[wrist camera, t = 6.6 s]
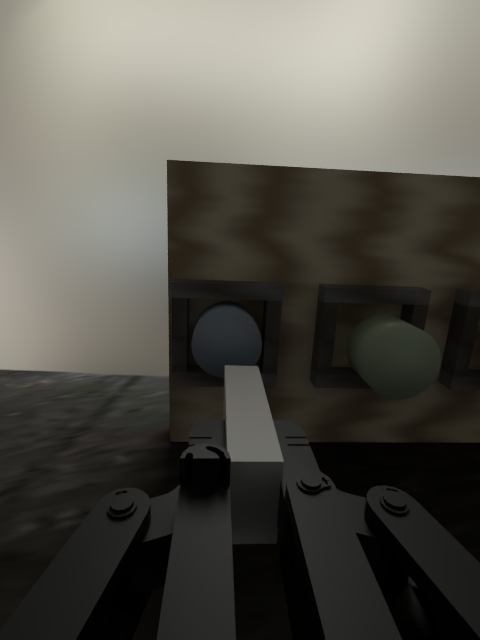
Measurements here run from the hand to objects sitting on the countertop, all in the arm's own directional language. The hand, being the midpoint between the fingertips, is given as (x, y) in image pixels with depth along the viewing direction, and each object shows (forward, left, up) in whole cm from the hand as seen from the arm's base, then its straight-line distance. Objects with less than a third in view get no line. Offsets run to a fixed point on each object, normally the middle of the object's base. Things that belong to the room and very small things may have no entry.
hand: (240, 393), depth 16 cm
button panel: (-13, -7, -9) cm, 17 cm away
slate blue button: (-2, -7, -2) cm, 8 cm away
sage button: (-11, -1, -2) cm, 11 cm away
